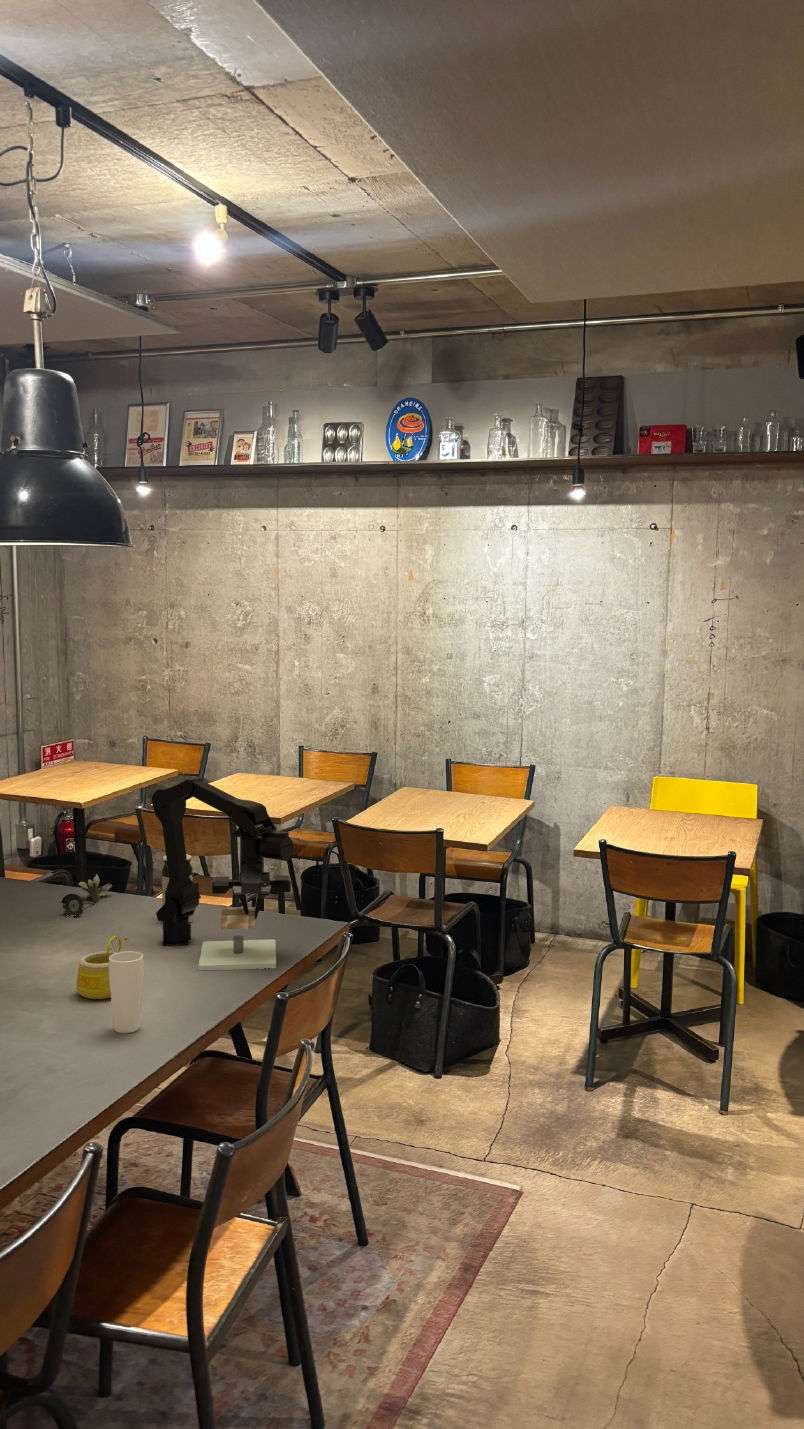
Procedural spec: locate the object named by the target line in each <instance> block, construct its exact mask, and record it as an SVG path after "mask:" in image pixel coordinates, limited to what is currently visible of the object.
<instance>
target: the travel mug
mask: <svg viewBox="0 0 804 1429" xmlns="http://www.w3.org/2000/svg"><path fill="white" fill-rule="evenodd" d="M186 858H187V865H188V873H189V878H190V879H191V880H192V882H193V883H194V881H193V880H194V878H193V866H192V864H191V859H192V856H191V855H190V854H188V853H186ZM162 859H163V861H164V862H163V863H164V864H163V867H162V868H161V872H162V873H161V876H162V877H161V878H162V880H161V882H162V883H161V886H162V888H161V889H162V891H161V892H162V894H161V895H162V898H161V899H162V906H163V905H164V904H165V891H166V888H167V885H168V882H169V875H168V867H167V859H166V855H164V856H163V857H162ZM193 916H194V914H193V915H191V916H189V922H191V923H192V922H193V919H194V917H193Z"/></svg>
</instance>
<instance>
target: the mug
mask: <svg viewBox="0 0 804 1429" xmlns="http://www.w3.org/2000/svg"><path fill="white" fill-rule="evenodd" d="M114 939H115V941H114ZM123 940H124V941H122V939H121V938H120V936H118V935H113V936H112V937H111V938H110V939H109V940H108V943H107V946H106V951H105V950H104V951H97V952H91V953H88V954H85V955H84V956H82V957H81V958H80V959H79V960H78V962H77V963H78V964H77V965H78V970H77V975H76V991H77V992H78V994H79V996H81V997H84V998H85V999H92V1000H105V999H111V994H110V985H109V957H110V956H111V955H113V954H115V953H119V952H122V949H123V948H124V945H125V944H126V941H128V940H129V936H127V935H126V936H125V937H124V939H123ZM118 942H119V944H118ZM111 945H112V947H110V946H111ZM117 948H118V950H117Z"/></svg>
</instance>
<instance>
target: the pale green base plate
mask: <svg viewBox="0 0 804 1429" xmlns="http://www.w3.org/2000/svg"><path fill="white" fill-rule="evenodd" d="M276 943H277V942H276V939H247V940H246V939H244V935H240V934H239V935H238V934H237V935H233V939H232V940H209V941H207V940H206V941H205V940H203V941H202V945H201V949H200V957H199V961H198V968H197V970H198V971H228V970H229V971H230V970H233V971H234V970H263V969H264V968H266V970H267V969H268V968H270V969H277V954H276V953H277V949H276V947H277V946H276ZM257 968H258V969H257Z"/></svg>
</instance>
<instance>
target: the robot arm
mask: <svg viewBox="0 0 804 1429" xmlns="http://www.w3.org/2000/svg"><path fill="white" fill-rule="evenodd" d="M192 798H194V799H196V800H198V801H200V802H202V803H204V804H205V805H208V806H210V807H212V808H213V809H215V810H217V811H220V812H221V813H223V814H225V815H226V816H227V817H228V818H229V819H230V821H231V823H232V824H233V825H235V826H237V829H236V830H235V831H234V832H232V834H231V836H232V837H235V838H239V873H238V874H239V876H238V878H239V879H238V880H230V876H214V877H213V879H212V883H211V891H212V892H211V893H212V894H214V895H215V894H216V895H217V894H226V893H227V892H228V891H229V890H230V889H232V890H233V894H232V896H233V897H237V898H238V900H239V901H240V903H241V905H242V906H241V907H243V909H244V912H245V915H248V914H249V909H248V907H249V902H248V894H256V898H255V899H256V901H255V906H254V907H255V920H257V918H258V915H259V911H260V908H261V906H262V904H263V902H264V899H265V898H266V897H268V896H271V889H274V890H275V891H276V892H277V893H290V892H292V890H291V888H292V886H291V885H292V882H291V881H292V880H291V877H290V876H289V875H274V876H273V878H274V879H270V877H271V872H270V871H265V870H264V869H265V866H264V865H265V864H264V863H265V862H264V861H265V860H264V859H267V860H268V859H269V860H275V861H282V862H288V861H289V860H290V859H292V857H293V854H294V851H295V850H294V849H295V848H294V847H295V844H294V843H293V842H294V841H293V840H292V838H291V837H290V834H289V832H288V831H278V828H277V827H276V825H275V823H274V822H273V820H272V818H271V817H270V816H269V813H268V810H267V807H266V806H265V805H264V804H263V803H260V802H257V801H253V800H251V799H250V800H249V799H241V798H239V797H238V798H237V797H236V796H233V795H232V794H229V793H227V792H226V791H224V790H222V789H219V788H218V787H216V786H214V785H212V784H210V783H208V782H206V781H204V780H203V779H202V778H200V777H191V778H187V779H185V780H184V781H182V782H180V783H178V784H175V785H172V786H168V787H163V788H158V789H156V790H155V791H154V792H153V794H152V795H151V805H152V809H153V812H154V814H155V816H156V818H157V819H158V820H159V822H160V823H161V826H162V833H163V834H162V835H163V843H164V851H165V856H166V859H167V867H168V875H169V882H168V885H167V888H166V891H165V904H164V905H162V906H161V907H159V909H158V910H157V911H156V912H155V913H156V914H155V915H156V919H157V921H158V922H162V942H161V946H187V945H189V943H190V941H191V939H192V922H189V916H191V915H193V916H194V913H195V911H196V909H197V907H198V906H199V904H200V899H202V896H201V894H200V885H199V883H198V882H195V883H194V881H193V882H192V880H191V879H190V878H189V873H188V865H187V858H186V854H187V851H186V844H185V843H186V842H185V835H184V827H183V826H184V825H183V820H184V815H185V814H186V811H187V801H188V800H190V799H192Z"/></svg>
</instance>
